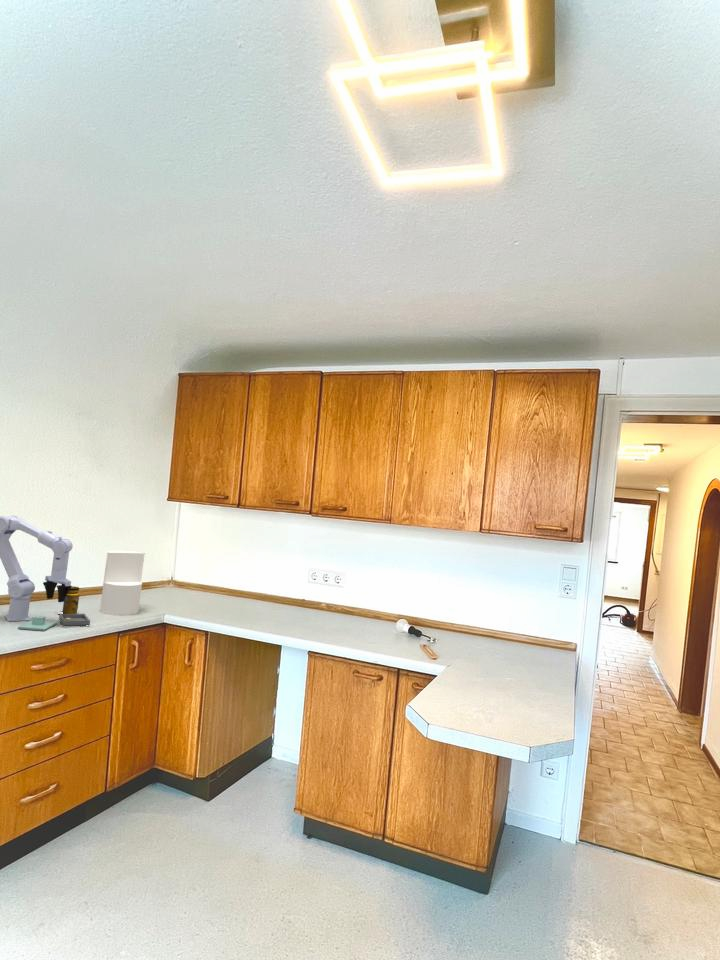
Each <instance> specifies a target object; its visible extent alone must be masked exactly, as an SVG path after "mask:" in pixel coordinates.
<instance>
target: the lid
mask: <svg viewBox="0 0 720 960" xmlns="http://www.w3.org/2000/svg"><path fill="white" fill-rule="evenodd" d="M57 624H58V621H51V620H46V616H41V615H34V616H32V619H31V620H29V621H27V622H25V623H23V624H21V625H19V626H17V629H19V630H32V631H43V632H44V631H47V630H48V629H50V628H52V627H53V626H55V625H57Z"/></svg>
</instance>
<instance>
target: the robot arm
mask: <svg viewBox="0 0 720 960" xmlns="http://www.w3.org/2000/svg"><path fill="white" fill-rule="evenodd" d="M16 531H22V532H23V533H26V534H28V535H30V536H32V537H34V538H36V539H37V541H38V543H39V544H41V545H43V546H45V547H47V548H49V549H50V550H52V552H53V557H52V564H51V565H52V566H51V572H50V573H51V574H50V575H45V578H44V581H43V582H42V584H43V586H44V589H45V594H46V600H51V599H53V598H54V595H55V590H56V588H57V601H58V603H64V600H65V597H66V595H67V593H68V591H69V590H70V589H71V588H72V585H71V584H72V581H71V580H69V579H67V571H68V565H69V559H70V558H69V557H70V552H71V551H72V550H73V543H72V541H71V540H70V539H68V538H64V539H63V537H62V536H61V535H60V536H58V535H56V534H55V533H53V531H52V530H41V529H39V528H37V527H36V526H34V525H33V524H31V523H30V522H27V520H26V521H25V520H24V519H23V518H21V517H18V516H16V515H8V516H6V515H5V516H0V560H1V563H2V565H3V568H4V569H5V570H4V571H5V573H6V575H7V577H8V580H7V582H6V585H7V593H8V596H9V599H10V601H9V605H8V607H9V608H8V613H7V614H5V617H6V621H7V622H25V621H27V622H29V621H31V620H30V617H29V612H30V611H29V610H30V603H31V595H32V594H33V593H34V592H35V590H36V586H35V583H34V582H33V581H32V580H31V579H30V577H29V576H28V575H27V574H25V573H24V571H23V569H22V567H21V565H20V562H19V560H18V557H17V555H16V553H15V551H14V548H13V546H12V544H11V541H10V538H11V537H12V535H13V534H14V533H15V532H16Z"/></svg>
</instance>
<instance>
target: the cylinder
mask: <svg viewBox="0 0 720 960" xmlns="http://www.w3.org/2000/svg"><path fill="white" fill-rule="evenodd" d="M144 561H145V553H144V552H140V551H134V550H118V549H117V550H115V549H113V550H108V551H107V553H106V561H105V569H104V576H103V584H102V592H101V598H100V606H99V607H100V608H99V612H100V613H103V614H104V615H105V614H106V615H113V616H130V615H136V614H138V613H139V612H140V611H139V610H140V602H141V596H142V595H141V594H142V586H143V582H142V575H143V570H144Z"/></svg>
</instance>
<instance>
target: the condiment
mask: <svg viewBox="0 0 720 960" xmlns="http://www.w3.org/2000/svg"><path fill="white" fill-rule="evenodd" d="M71 586H72V585H71ZM79 600H80V587H79V586H75V585H74V586H72V588H71V589H70V590H69V591H68V593H67V595H66V597H65V600H64V602H63V604H62V611H61V612H63V614H77V613H78V608H79Z"/></svg>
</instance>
